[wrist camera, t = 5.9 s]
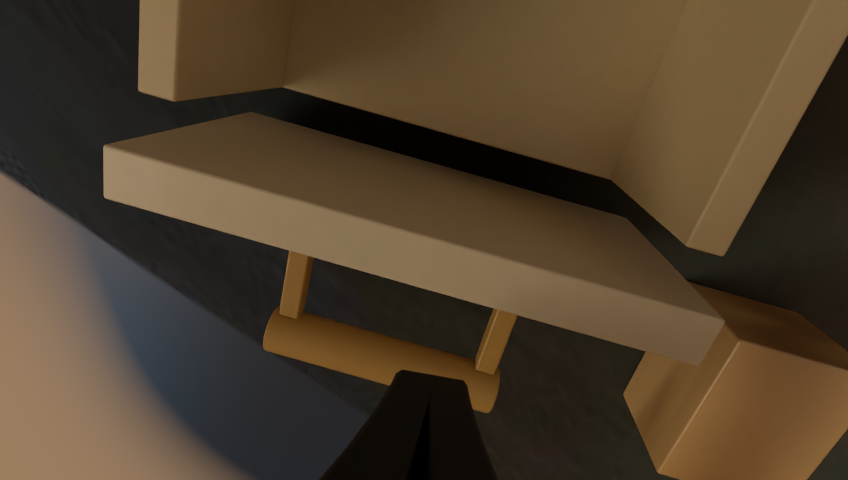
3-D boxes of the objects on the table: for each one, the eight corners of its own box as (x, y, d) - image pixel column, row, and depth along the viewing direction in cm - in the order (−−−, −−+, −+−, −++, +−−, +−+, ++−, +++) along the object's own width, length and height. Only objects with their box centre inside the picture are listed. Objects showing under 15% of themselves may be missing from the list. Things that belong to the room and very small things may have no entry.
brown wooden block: (798, 311, 17) (888, 381, 13) (724, 423, 19) (784, 510, 15) (683, 279, 17) (740, 340, 13) (621, 394, 19) (656, 474, 15)
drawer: (561, 361, 18) (607, 521, 12) (232, 268, 18) (103, 378, 12) (839, -249, 11) (1308, -647, 5) (307, -398, 11) (92, -984, 5)
